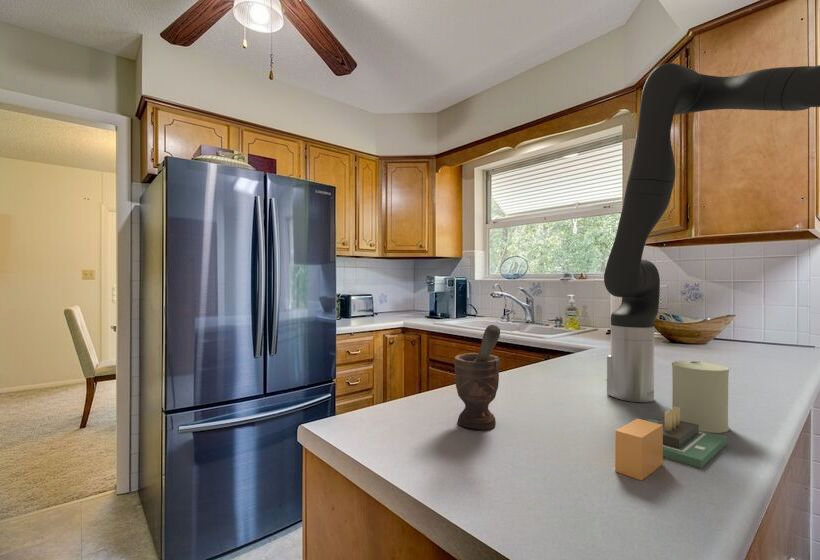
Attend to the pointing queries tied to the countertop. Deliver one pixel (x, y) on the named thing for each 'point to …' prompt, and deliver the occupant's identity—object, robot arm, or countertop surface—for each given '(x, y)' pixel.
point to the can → (701, 394)
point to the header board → (696, 453)
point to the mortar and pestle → (478, 382)
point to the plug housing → (638, 448)
